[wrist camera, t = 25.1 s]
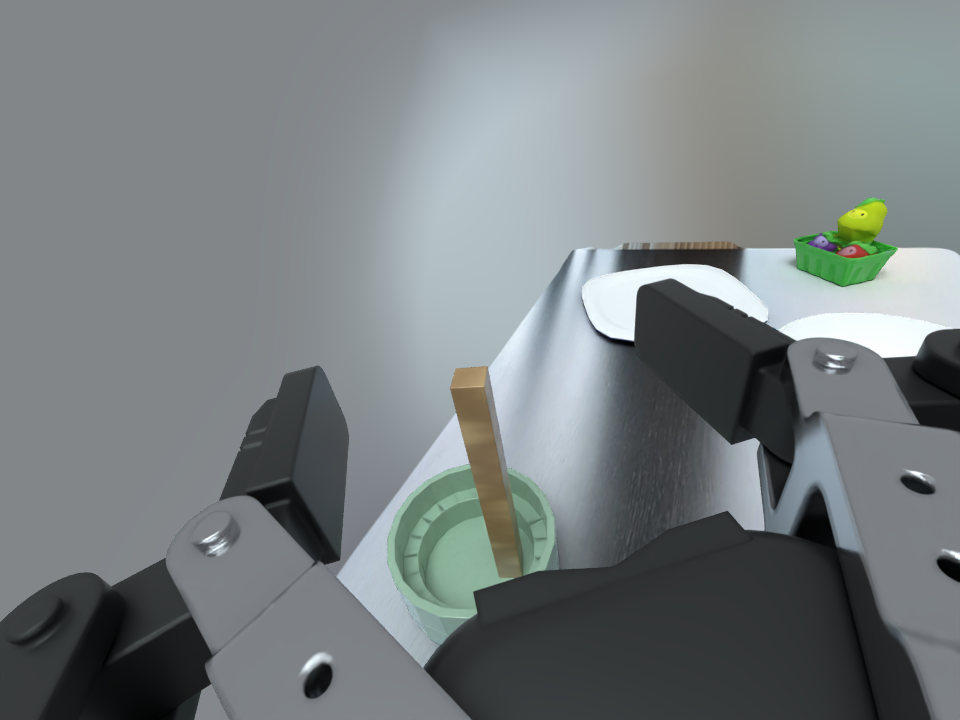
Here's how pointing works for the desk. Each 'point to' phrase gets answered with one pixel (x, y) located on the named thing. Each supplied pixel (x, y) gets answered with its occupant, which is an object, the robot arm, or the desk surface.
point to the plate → (616, 292)
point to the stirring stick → (488, 466)
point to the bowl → (866, 331)
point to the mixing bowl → (460, 547)
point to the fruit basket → (847, 247)
